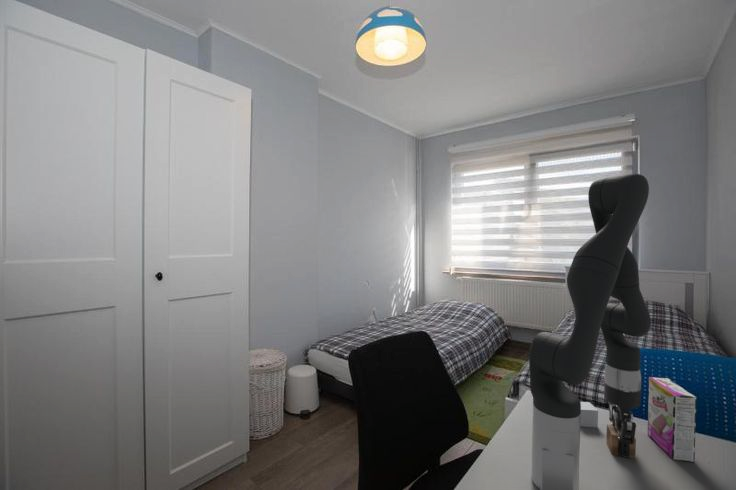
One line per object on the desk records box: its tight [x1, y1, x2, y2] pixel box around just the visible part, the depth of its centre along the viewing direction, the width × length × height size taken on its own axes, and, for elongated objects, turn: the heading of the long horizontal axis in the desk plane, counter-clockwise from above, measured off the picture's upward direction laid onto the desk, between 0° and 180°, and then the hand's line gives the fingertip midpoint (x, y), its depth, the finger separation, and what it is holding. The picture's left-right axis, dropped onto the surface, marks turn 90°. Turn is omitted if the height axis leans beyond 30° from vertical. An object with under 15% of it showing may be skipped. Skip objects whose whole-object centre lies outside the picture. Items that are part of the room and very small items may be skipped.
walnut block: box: [605, 424, 637, 459], centre depth 90 cm, size 5×5×5 cm
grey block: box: [580, 401, 599, 428], centre depth 103 cm, size 5×5×5 cm
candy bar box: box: [647, 376, 697, 463], centre depth 90 cm, size 11×5×16 cm, turn 168°
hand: (620, 448), depth 90 cm, fingers closed on walnut block, 5 cm apart
